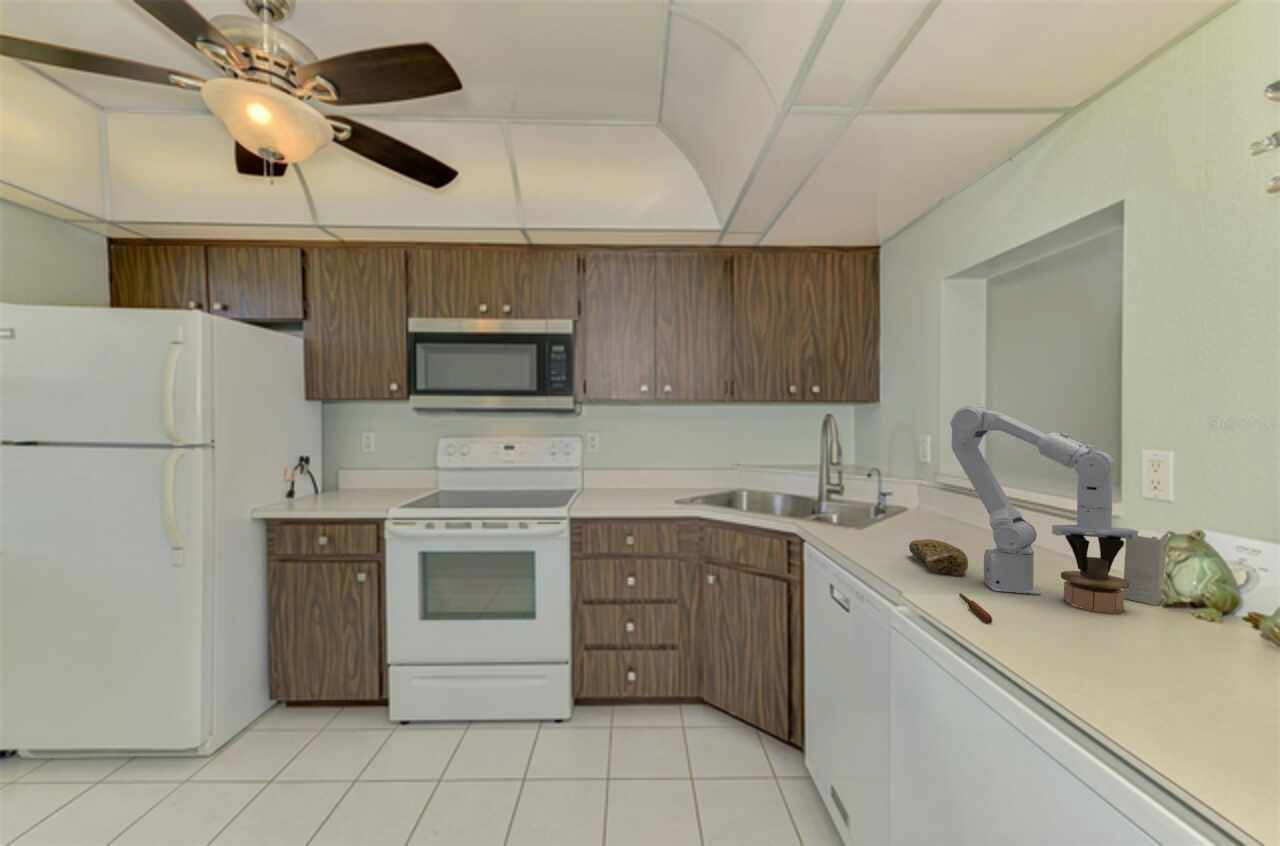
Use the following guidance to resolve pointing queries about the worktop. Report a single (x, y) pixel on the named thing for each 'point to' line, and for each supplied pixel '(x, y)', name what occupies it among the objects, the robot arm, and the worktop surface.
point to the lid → (1095, 575)
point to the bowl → (1094, 597)
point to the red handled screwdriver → (977, 610)
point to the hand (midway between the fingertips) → (1093, 570)
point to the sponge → (940, 556)
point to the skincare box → (1145, 566)
